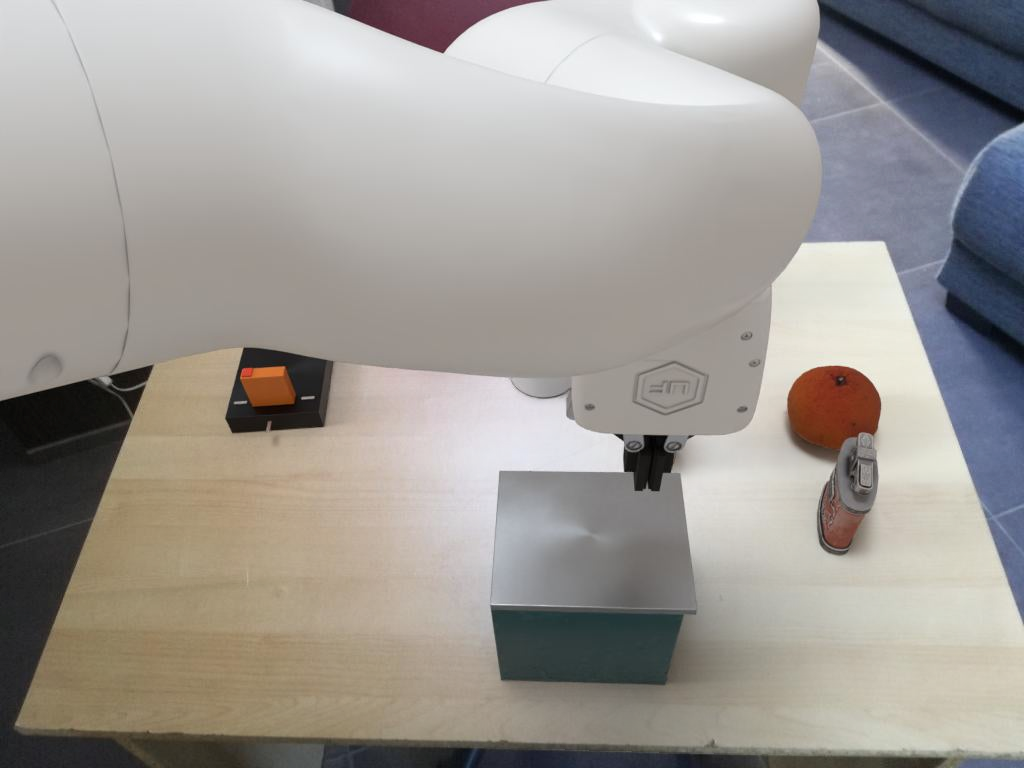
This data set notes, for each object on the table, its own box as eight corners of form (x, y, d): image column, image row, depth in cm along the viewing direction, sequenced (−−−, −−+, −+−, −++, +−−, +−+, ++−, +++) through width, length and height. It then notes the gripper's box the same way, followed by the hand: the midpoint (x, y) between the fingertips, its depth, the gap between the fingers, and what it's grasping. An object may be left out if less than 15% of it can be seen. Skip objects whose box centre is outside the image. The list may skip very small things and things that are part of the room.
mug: (512, 402, 84) (508, 333, 77) (506, 351, 90) (501, 282, 82) (621, 391, 85) (628, 321, 77) (608, 341, 90) (613, 272, 82)
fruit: (786, 462, 77) (805, 411, 71) (776, 396, 83) (792, 344, 77) (877, 468, 76) (904, 416, 70) (861, 401, 82) (884, 348, 76)
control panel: (321, 443, 82) (315, 428, 80) (227, 450, 82) (219, 434, 80) (335, 349, 91) (330, 332, 89) (251, 354, 91) (244, 338, 89)
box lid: (679, 478, 61) (680, 472, 61) (696, 615, 53) (697, 610, 53) (499, 476, 62) (499, 470, 61) (490, 610, 54) (489, 605, 54)
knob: (296, 394, 83) (284, 364, 80) (294, 404, 82) (282, 374, 79) (254, 397, 83) (241, 367, 80) (252, 407, 82) (238, 377, 79)
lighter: (818, 480, 76) (847, 416, 68) (855, 488, 75) (887, 423, 67) (814, 550, 71) (844, 488, 63) (853, 559, 70) (888, 497, 62)
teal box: (654, 559, 71) (669, 478, 61) (665, 684, 63) (684, 615, 53) (507, 556, 72) (499, 476, 62) (500, 680, 64) (490, 610, 54)
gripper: (525, 297, 35) (530, 519, 48) (858, 300, 34) (770, 524, 48) (530, 204, 40) (533, 428, 54) (820, 204, 39) (750, 431, 53)
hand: (645, 473), depth 51 cm, fingers closed
